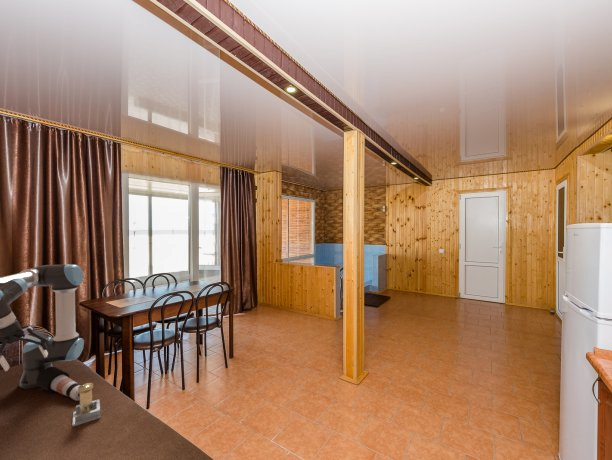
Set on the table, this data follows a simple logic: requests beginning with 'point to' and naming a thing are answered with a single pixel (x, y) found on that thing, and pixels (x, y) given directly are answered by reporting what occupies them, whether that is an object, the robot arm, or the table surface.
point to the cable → (58, 382)
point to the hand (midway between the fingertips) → (27, 362)
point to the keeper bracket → (86, 414)
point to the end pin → (85, 397)
